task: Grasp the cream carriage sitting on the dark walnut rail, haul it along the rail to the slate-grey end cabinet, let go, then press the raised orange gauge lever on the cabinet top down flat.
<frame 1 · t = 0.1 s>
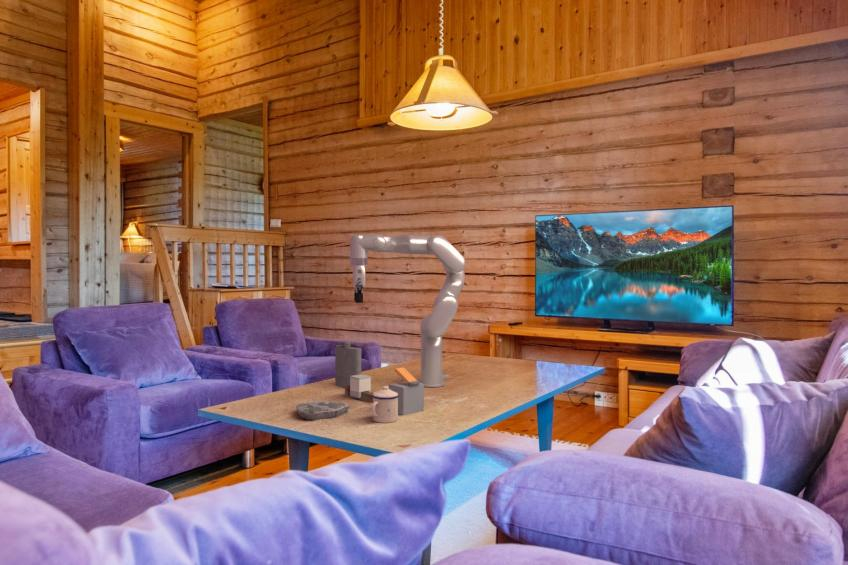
hand: (358, 301, 259), 37 cm above the table, tool pointing down, fingers open, 9 cm apart
brain slice: (319, 415, 213), on the table
carriage: (360, 385, 238), point 5 cm above the table, slide at 0.0 cm
teacup with lid: (382, 421, 204), on the table
gauge lever: (407, 376, 217), point 13 cm above the table, hinge at 26.7°
rail: (374, 402, 231), on the table
hip flask: (347, 387, 259), on the table
cabinet: (406, 411, 218), on the table
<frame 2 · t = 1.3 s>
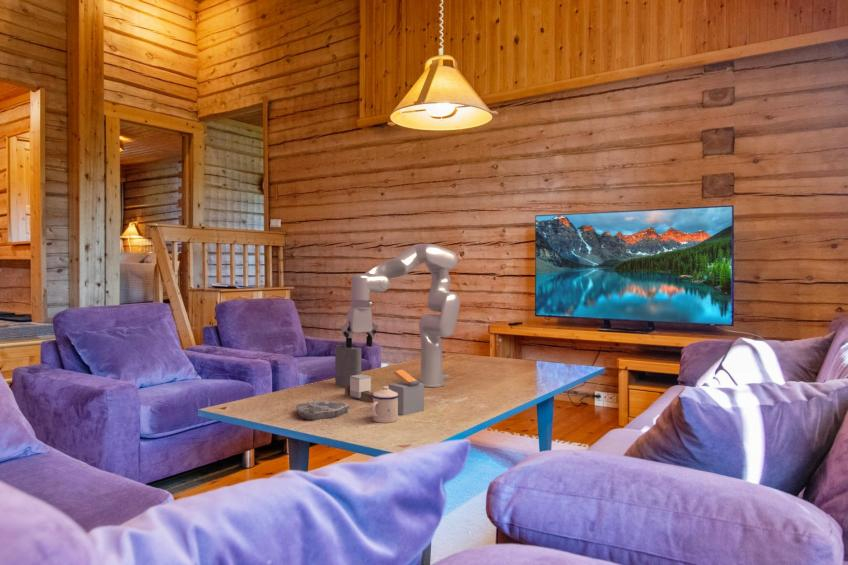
hand: (359, 347, 239), 20 cm above the table, tool pointing down, fingers open, 9 cm apart
gauge lever: (406, 377, 218), point 12 cm above the table, hinge at 20.2°
everything else where it was.
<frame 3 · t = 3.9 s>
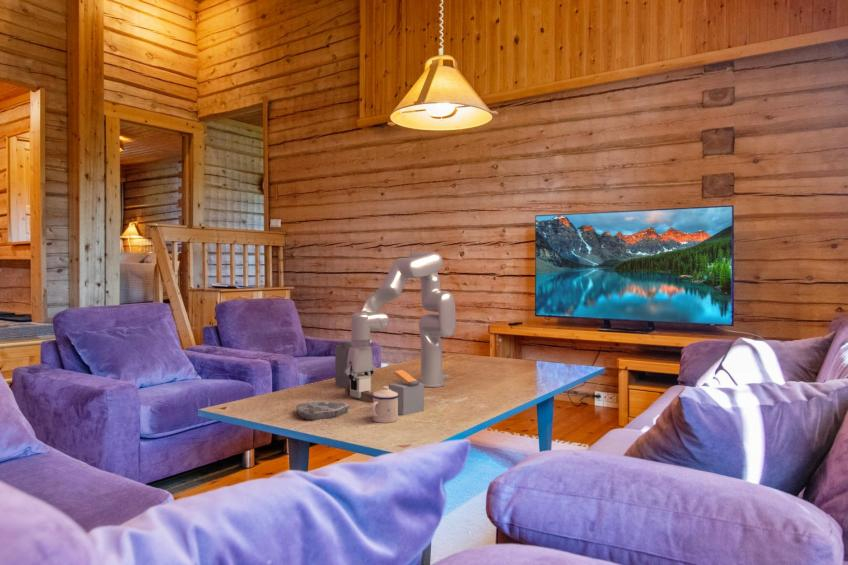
hand: (360, 388, 238), 4 cm above the table, tool pointing down, fingers closed on carriage, 5 cm apart
carriage: (360, 385, 238), point 5 cm above the table, slide at 0.0 cm, touching gripper
gauge lever: (406, 378, 218), point 12 cm above the table, hinge at 19.5°
everything else where it was.
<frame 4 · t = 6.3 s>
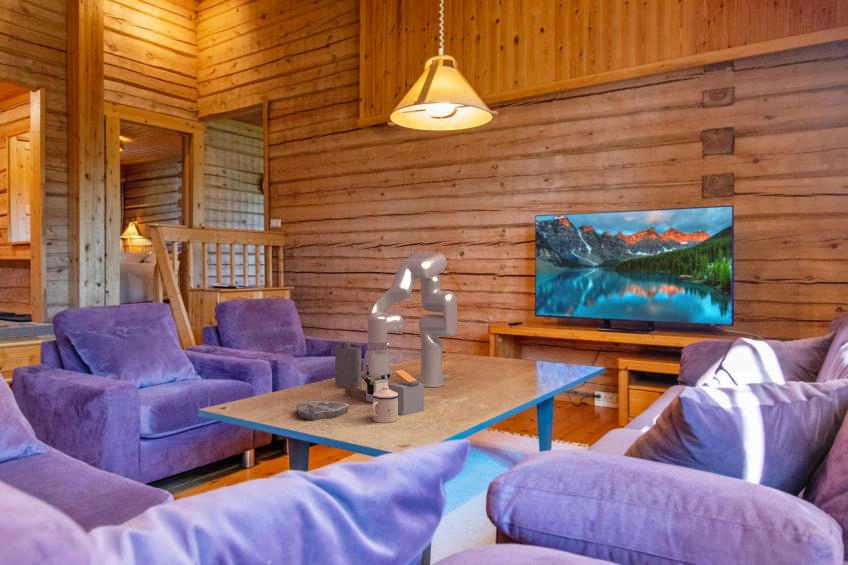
hand: (377, 392, 230), 4 cm above the table, tool pointing down, fingers closed on carriage, 5 cm apart
carriage: (377, 390, 230), point 5 cm above the table, slide at 10.5 cm, touching gripper
everything else where it was.
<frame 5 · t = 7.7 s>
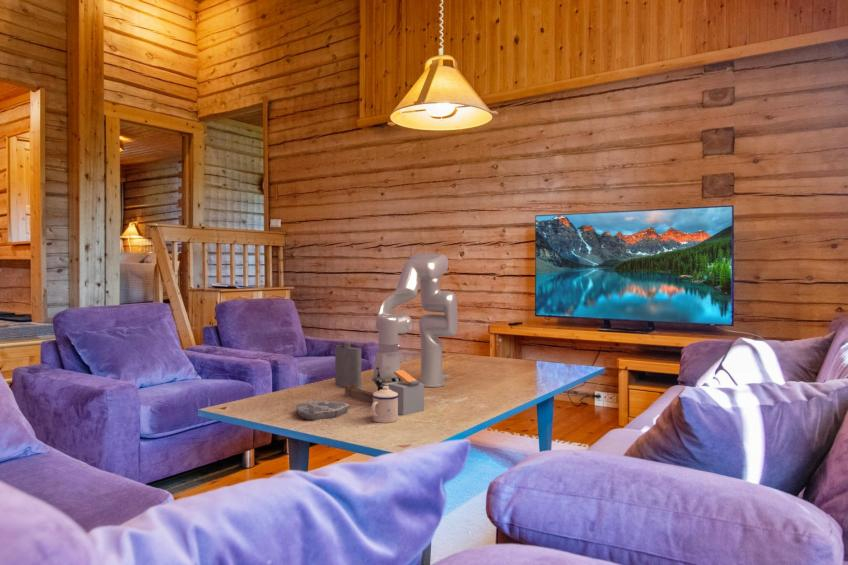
hand: (387, 395, 225), 4 cm above the table, tool pointing down, fingers closed on carriage, 5 cm apart
carriage: (387, 392, 225), point 5 cm above the table, slide at 17.0 cm, touching gripper
everything else where it was.
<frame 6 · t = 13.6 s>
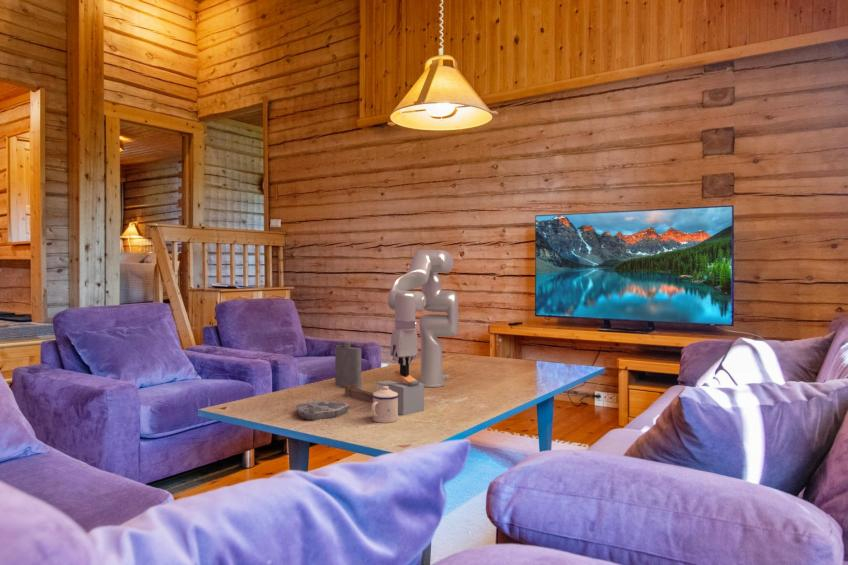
hand: (404, 375, 218), 13 cm above the table, tool pointing down, fingers closed
carriage: (387, 392, 225), point 5 cm above the table, slide at 17.0 cm
gauge lever: (406, 378, 218), point 12 cm above the table, hinge at 18.9°, touching gripper
everything else where it was.
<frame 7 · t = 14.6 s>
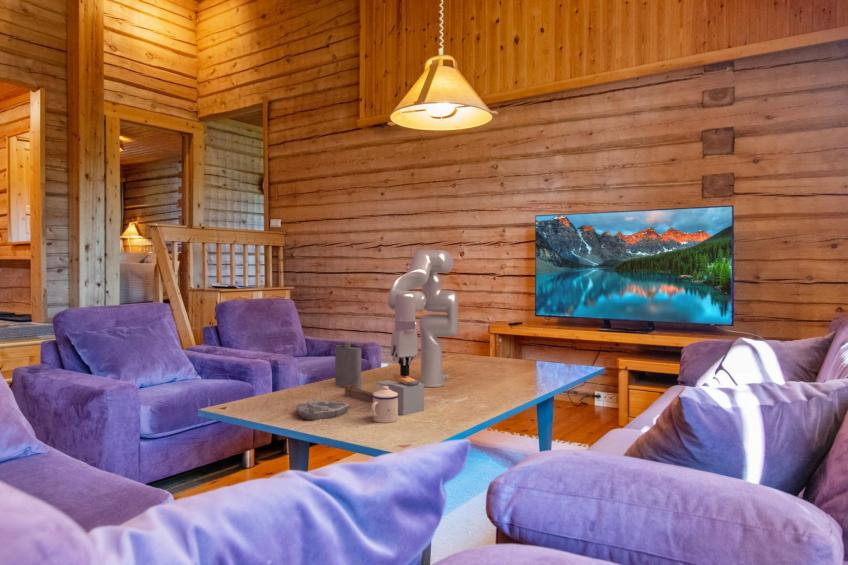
hand: (404, 375, 218), 13 cm above the table, tool pointing down, fingers closed
gauge lever: (405, 379, 218), point 12 cm above the table, hinge at 9.4°
everything else where it was.
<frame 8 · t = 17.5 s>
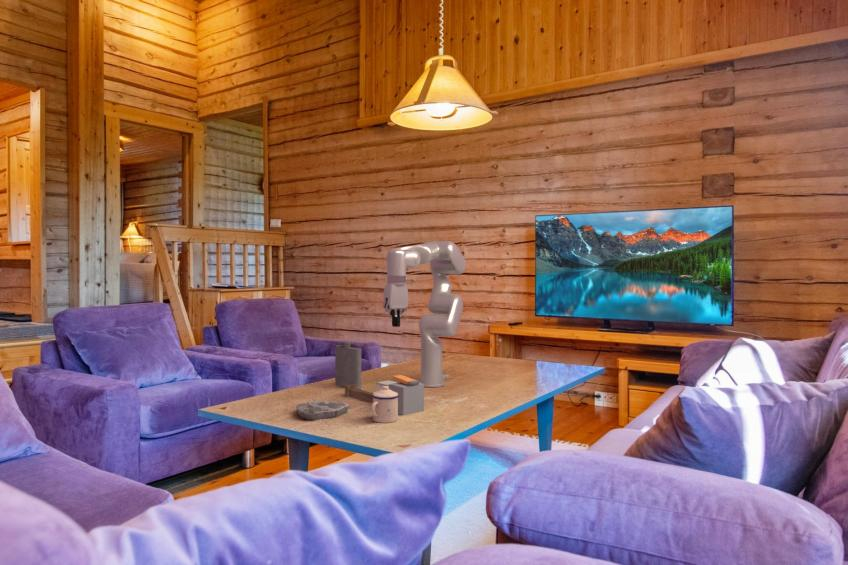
hand: (396, 326, 236), 29 cm above the table, tool pointing down, fingers closed
gauge lever: (405, 380, 218), point 11 cm above the table, hinge at 6.0°
everything else where it was.
at the end: carriage slide at 17.0 cm; gauge lever at +6° (first picture: +28°); the gripper is holding nothing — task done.
